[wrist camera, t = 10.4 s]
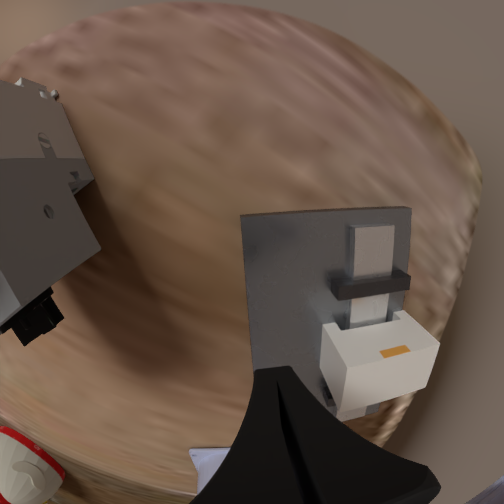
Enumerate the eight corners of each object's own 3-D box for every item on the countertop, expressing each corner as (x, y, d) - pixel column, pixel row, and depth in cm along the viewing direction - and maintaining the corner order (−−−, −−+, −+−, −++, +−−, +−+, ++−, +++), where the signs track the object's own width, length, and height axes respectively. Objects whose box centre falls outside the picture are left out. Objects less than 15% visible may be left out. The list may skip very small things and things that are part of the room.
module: (395, 350, 21) (425, 387, 16) (319, 367, 21) (339, 412, 16) (403, 309, 20) (440, 343, 15) (322, 324, 20) (347, 367, 15)
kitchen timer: (48, 479, 28) (28, 533, 14) (-8, 432, 25) (-38, 484, 10) (78, 474, 27) (56, 544, 12) (8, 419, 23) (-30, 485, 9)
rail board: (373, 405, 24) (383, 421, 22) (258, 427, 24) (260, 446, 21) (404, 206, 19) (423, 211, 16) (240, 214, 18) (241, 221, 16)
